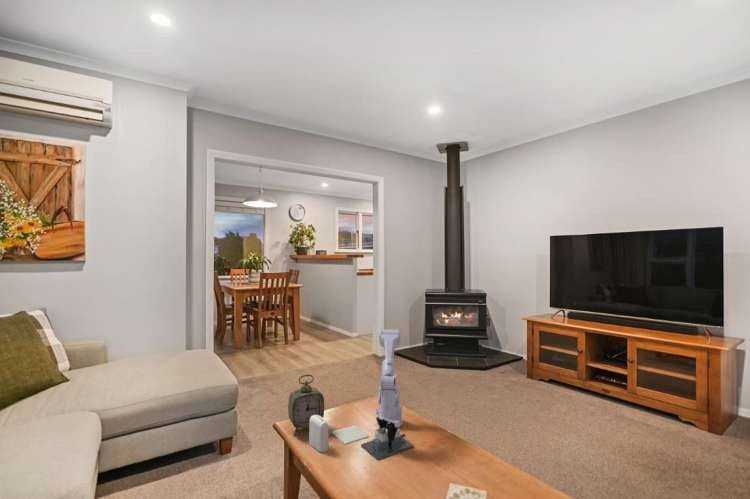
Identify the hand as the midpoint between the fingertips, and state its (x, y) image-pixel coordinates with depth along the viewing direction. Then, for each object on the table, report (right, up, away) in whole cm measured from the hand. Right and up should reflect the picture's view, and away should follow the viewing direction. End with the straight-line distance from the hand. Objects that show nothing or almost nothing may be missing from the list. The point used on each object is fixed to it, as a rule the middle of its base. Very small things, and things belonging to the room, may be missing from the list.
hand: (387, 437), depth 155 cm
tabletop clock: (-36, -4, +13) cm, 39 cm away
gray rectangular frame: (0, 0, 0) cm, 0 cm away
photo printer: (-28, -4, -1) cm, 29 cm away
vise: (0, -4, 0) cm, 4 cm away
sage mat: (-16, -4, +10) cm, 19 cm away
